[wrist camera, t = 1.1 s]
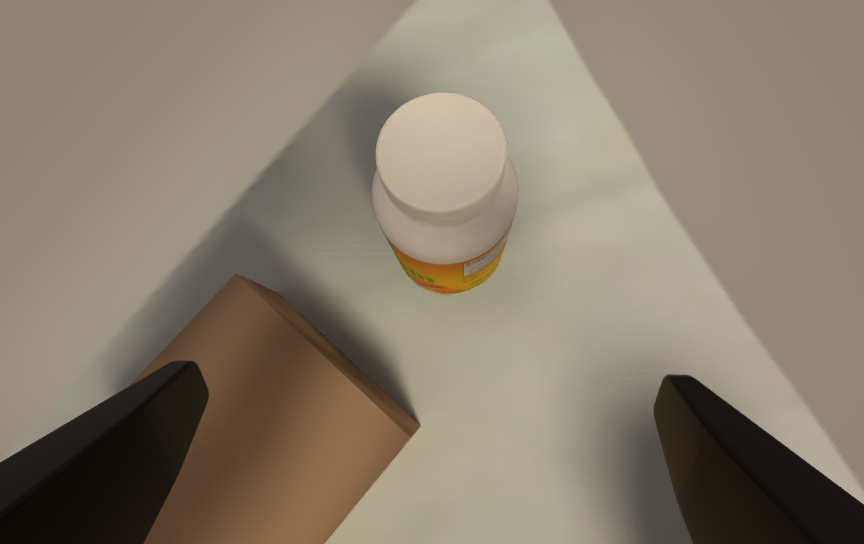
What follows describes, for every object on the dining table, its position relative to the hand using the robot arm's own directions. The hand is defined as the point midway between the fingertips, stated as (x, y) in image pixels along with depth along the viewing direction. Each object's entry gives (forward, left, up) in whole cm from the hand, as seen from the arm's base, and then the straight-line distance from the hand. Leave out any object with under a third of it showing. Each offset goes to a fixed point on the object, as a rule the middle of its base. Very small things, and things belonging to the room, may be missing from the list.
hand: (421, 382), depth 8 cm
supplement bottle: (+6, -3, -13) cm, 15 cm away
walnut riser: (+2, +9, -13) cm, 15 cm away
